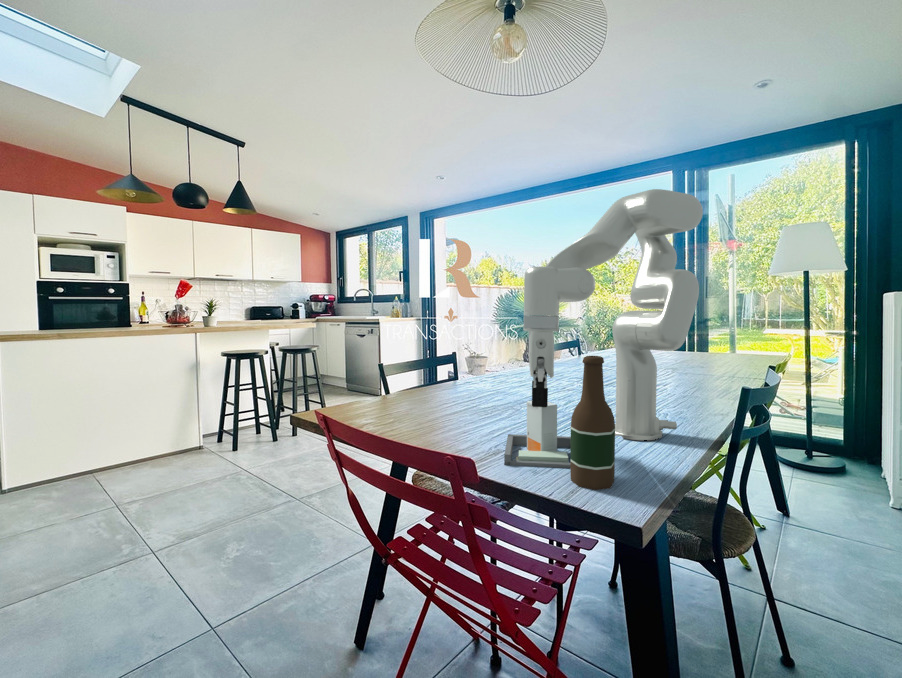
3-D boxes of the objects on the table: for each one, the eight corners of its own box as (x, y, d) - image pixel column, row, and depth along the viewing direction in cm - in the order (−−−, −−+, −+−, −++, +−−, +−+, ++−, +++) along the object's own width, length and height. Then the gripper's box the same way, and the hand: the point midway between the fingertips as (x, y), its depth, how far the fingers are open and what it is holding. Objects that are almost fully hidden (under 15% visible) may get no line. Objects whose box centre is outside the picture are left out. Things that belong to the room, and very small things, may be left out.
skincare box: (526, 453, 99) (525, 400, 98) (541, 450, 101) (541, 399, 100) (541, 461, 94) (541, 406, 93) (558, 458, 95) (558, 404, 94)
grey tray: (575, 449, 101) (575, 436, 101) (582, 472, 87) (582, 458, 87) (508, 446, 104) (508, 434, 103) (504, 468, 90) (504, 454, 89)
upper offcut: (566, 458, 92) (566, 451, 92) (568, 464, 89) (568, 457, 89) (518, 457, 94) (518, 450, 94) (518, 463, 90) (518, 456, 90)
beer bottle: (623, 487, 79) (625, 356, 78) (597, 498, 75) (598, 360, 73) (587, 474, 86) (588, 353, 84) (561, 484, 81) (562, 356, 80)
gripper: (561, 325, 86) (559, 411, 87) (556, 323, 103) (554, 395, 104) (522, 325, 87) (520, 409, 88) (524, 323, 104) (522, 394, 105)
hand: (539, 402), depth 96 cm, fingers open, 9 cm apart
